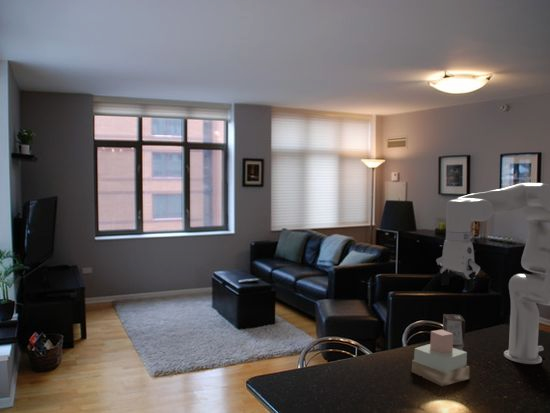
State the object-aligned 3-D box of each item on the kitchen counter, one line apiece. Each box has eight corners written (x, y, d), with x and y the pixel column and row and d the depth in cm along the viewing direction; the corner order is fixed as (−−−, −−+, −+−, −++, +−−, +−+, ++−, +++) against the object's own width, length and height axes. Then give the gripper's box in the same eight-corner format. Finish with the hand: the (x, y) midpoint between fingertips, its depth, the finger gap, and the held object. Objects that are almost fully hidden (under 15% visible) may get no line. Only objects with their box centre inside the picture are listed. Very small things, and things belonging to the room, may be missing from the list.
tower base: (438, 366, 172) (438, 354, 172) (469, 380, 161) (469, 366, 160) (411, 373, 165) (412, 360, 165) (441, 387, 154) (442, 373, 154)
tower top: (435, 354, 171) (435, 342, 171) (466, 365, 162) (466, 352, 161) (414, 361, 164) (414, 348, 164) (445, 373, 154) (445, 359, 154)
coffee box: (463, 366, 172) (465, 321, 171) (444, 364, 173) (446, 319, 172) (459, 357, 181) (461, 314, 180) (441, 355, 182) (443, 313, 181)
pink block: (441, 346, 166) (441, 329, 166) (452, 351, 162) (453, 333, 161) (430, 348, 164) (430, 331, 163) (441, 353, 159) (442, 335, 159)
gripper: (487, 239, 155) (486, 291, 156) (445, 233, 170) (444, 281, 172) (471, 240, 152) (470, 294, 153) (429, 234, 167) (429, 283, 168)
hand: (456, 287), depth 162 cm, fingers open, 9 cm apart
